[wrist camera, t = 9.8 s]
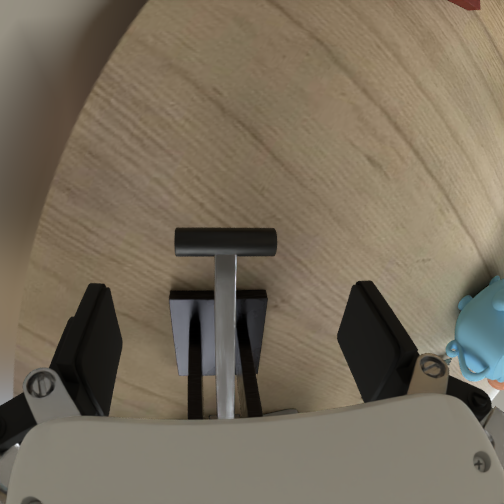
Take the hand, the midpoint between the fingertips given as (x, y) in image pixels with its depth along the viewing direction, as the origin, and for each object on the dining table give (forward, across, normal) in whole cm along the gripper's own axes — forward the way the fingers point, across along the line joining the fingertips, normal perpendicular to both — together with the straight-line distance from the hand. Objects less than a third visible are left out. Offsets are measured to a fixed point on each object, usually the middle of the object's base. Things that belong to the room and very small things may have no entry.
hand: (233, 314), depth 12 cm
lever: (+4, 0, +7) cm, 8 cm away
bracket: (+12, 0, +13) cm, 18 cm away
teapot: (+13, -33, +12) cm, 37 cm away
